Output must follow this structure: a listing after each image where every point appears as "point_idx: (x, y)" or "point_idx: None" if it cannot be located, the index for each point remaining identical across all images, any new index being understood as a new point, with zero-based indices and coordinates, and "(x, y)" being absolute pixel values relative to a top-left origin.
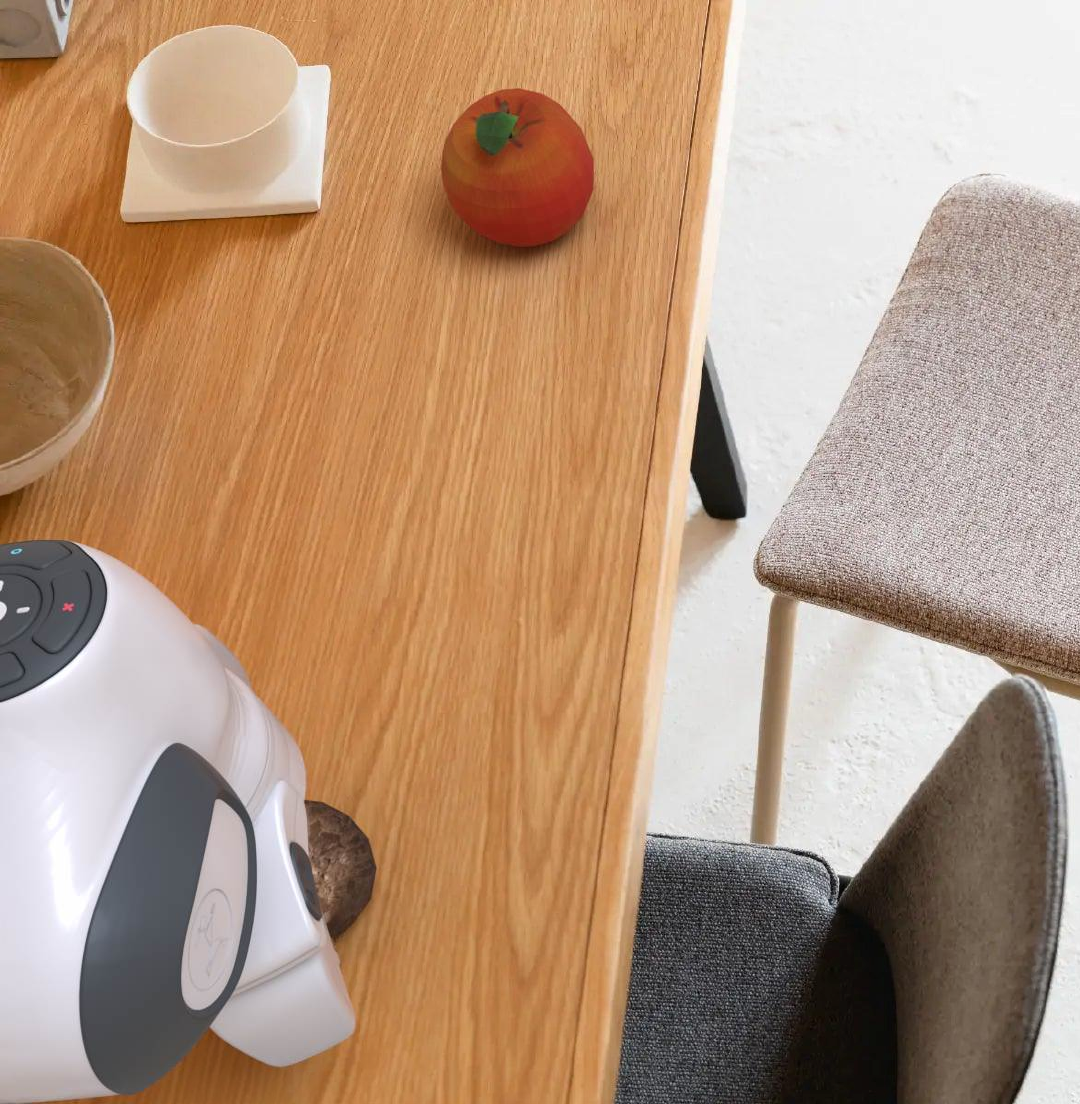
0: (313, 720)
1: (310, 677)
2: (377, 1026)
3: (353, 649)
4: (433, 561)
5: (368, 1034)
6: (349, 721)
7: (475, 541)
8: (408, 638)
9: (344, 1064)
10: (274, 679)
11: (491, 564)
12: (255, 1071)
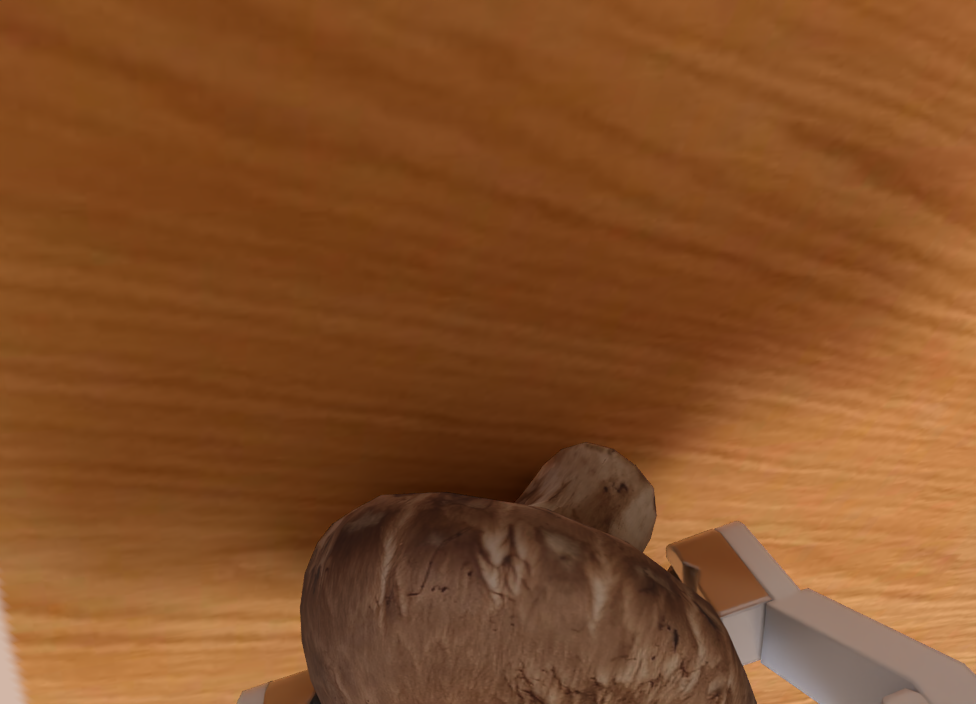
0: (833, 487)
1: (912, 473)
2: (176, 665)
3: (912, 528)
4: (961, 602)
5: (157, 656)
6: (796, 539)
7: (948, 639)
8: (875, 593)
9: (80, 632)
10: (951, 415)
11: None
12: (33, 475)
